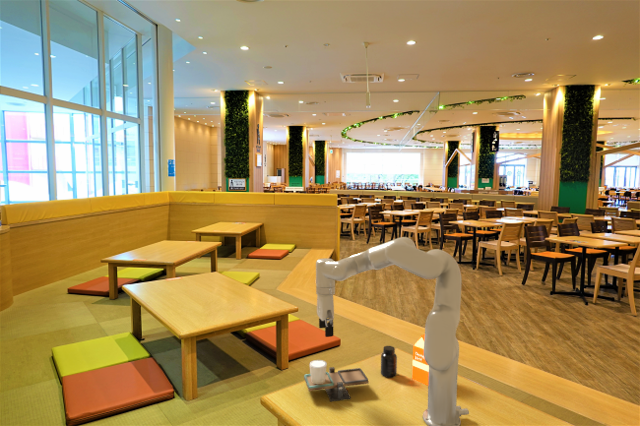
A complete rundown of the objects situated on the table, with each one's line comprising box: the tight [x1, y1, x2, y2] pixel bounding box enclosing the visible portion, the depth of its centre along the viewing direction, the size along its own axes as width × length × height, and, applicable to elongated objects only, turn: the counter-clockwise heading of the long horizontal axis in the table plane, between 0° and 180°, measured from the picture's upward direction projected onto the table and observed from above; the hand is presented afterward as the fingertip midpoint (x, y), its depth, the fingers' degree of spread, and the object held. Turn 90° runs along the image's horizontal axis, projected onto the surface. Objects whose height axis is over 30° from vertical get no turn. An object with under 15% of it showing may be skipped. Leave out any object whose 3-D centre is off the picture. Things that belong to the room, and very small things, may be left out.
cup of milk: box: [309, 359, 328, 384], centre depth 152 cm, size 7×7×7 cm
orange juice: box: [412, 333, 429, 386], centre depth 163 cm, size 8×9×20 cm
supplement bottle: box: [380, 345, 398, 379], centre depth 167 cm, size 7×7×12 cm
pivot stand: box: [324, 366, 352, 403], centre depth 154 cm, size 8×15×6 cm, turn 13°
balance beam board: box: [303, 367, 369, 392], centre depth 153 cm, size 24×10×2 cm, turn 103°
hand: (326, 331), depth 154 cm, fingers open, 9 cm apart
